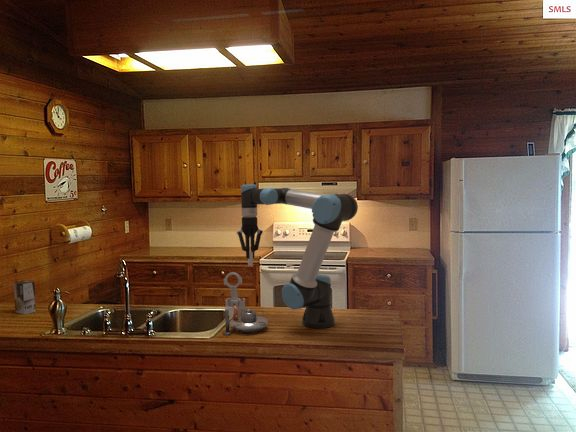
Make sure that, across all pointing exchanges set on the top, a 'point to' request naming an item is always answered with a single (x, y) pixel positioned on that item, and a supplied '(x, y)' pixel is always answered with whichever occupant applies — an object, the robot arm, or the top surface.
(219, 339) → the top surface
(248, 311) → the cover
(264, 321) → the turntable
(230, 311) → the dial stand
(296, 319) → the top surface
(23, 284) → the coffee box
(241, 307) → the engine component
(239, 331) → the turntable base
